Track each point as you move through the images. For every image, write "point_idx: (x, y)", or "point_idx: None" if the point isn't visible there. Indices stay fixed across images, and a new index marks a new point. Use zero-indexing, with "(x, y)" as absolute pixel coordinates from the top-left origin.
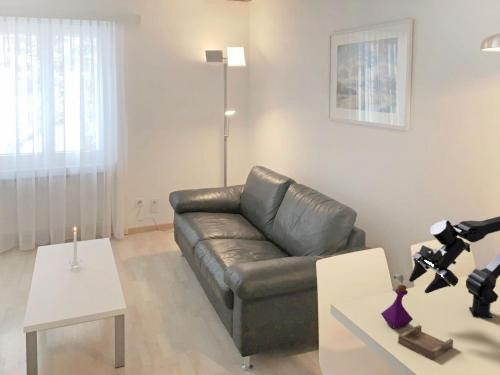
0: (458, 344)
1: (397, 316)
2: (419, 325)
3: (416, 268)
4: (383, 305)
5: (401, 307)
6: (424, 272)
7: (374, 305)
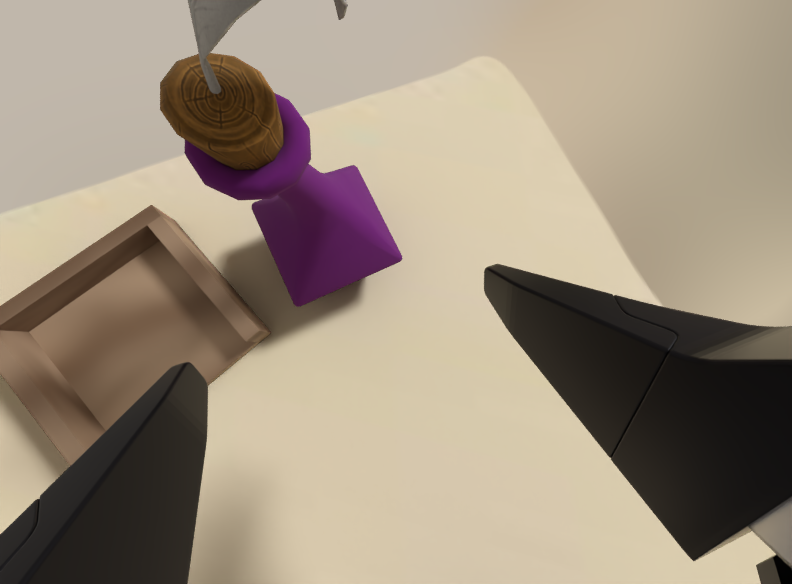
0: None
1: (267, 211)
2: (252, 331)
3: (651, 342)
4: (515, 235)
5: (294, 223)
6: (645, 490)
7: (510, 198)
